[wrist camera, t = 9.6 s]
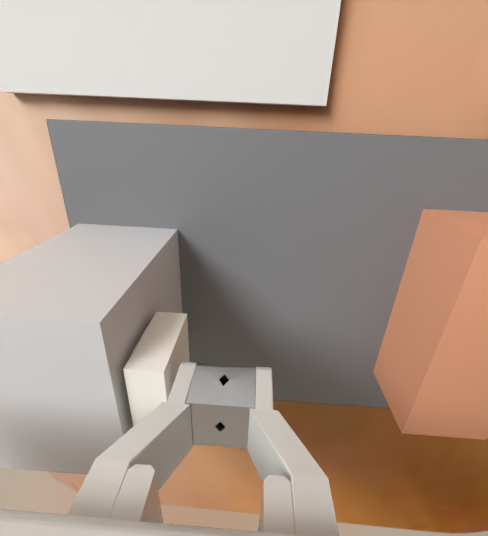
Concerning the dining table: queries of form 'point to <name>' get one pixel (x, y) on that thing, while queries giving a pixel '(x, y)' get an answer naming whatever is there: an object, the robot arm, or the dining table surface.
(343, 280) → the board
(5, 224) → the dining table surface
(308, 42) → the white mat
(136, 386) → the bar
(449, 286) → the salmon orange rectangular block
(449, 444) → the dining table surface
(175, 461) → the robot arm
